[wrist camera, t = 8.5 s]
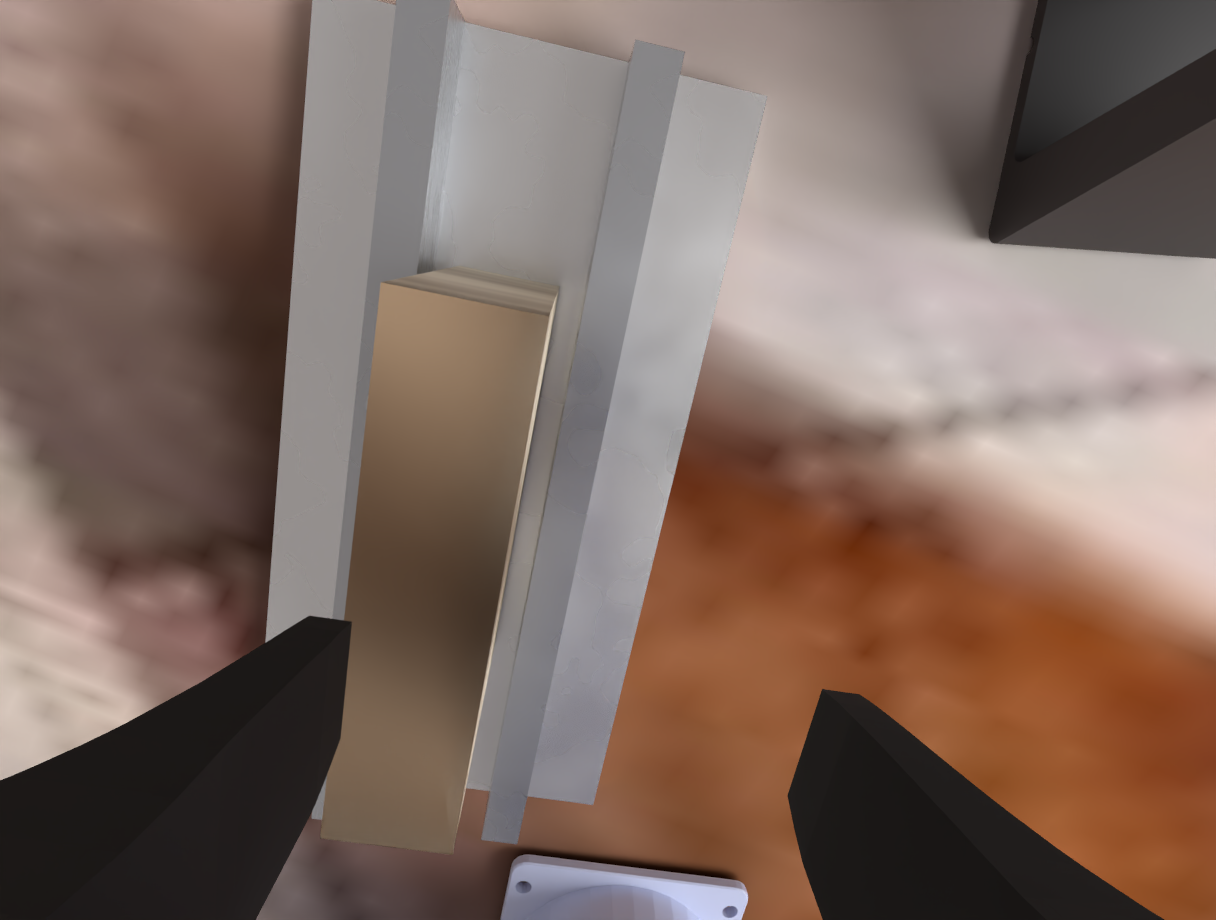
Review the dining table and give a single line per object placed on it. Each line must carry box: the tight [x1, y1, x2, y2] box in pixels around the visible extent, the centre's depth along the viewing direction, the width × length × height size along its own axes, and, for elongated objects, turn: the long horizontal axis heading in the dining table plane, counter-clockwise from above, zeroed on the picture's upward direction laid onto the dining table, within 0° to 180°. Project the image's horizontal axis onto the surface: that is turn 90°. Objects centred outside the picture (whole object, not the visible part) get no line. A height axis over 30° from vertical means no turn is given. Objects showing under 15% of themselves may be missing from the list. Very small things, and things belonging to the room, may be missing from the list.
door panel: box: [320, 266, 559, 855], centre depth 15 cm, size 10×2×7 cm, turn 168°
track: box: [265, 0, 767, 844], centre depth 18 cm, size 20×10×3 cm, turn 168°
